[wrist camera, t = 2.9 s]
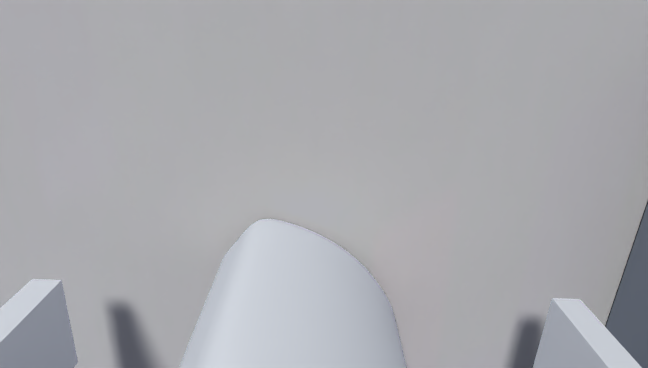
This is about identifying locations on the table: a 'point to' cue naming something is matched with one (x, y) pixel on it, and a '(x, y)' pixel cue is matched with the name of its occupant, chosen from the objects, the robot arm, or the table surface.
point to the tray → (633, 301)
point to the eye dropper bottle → (293, 307)
